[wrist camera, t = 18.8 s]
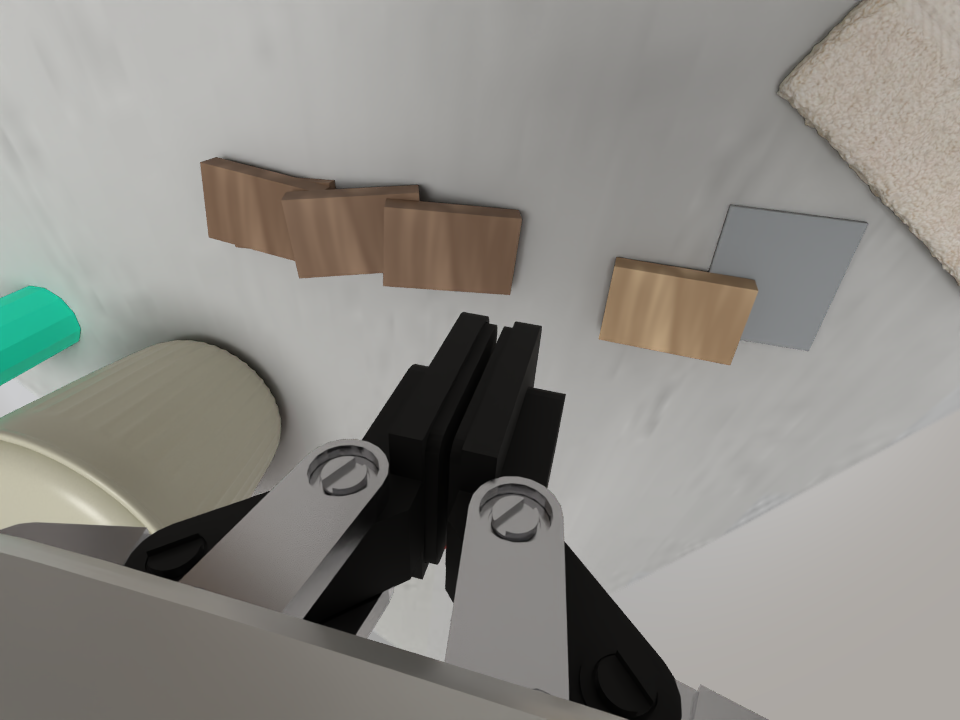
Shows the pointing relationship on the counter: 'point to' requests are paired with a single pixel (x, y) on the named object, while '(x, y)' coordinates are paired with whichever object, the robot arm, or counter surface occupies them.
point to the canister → (140, 441)
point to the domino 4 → (677, 310)
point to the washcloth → (893, 110)
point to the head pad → (786, 269)
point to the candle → (33, 330)
